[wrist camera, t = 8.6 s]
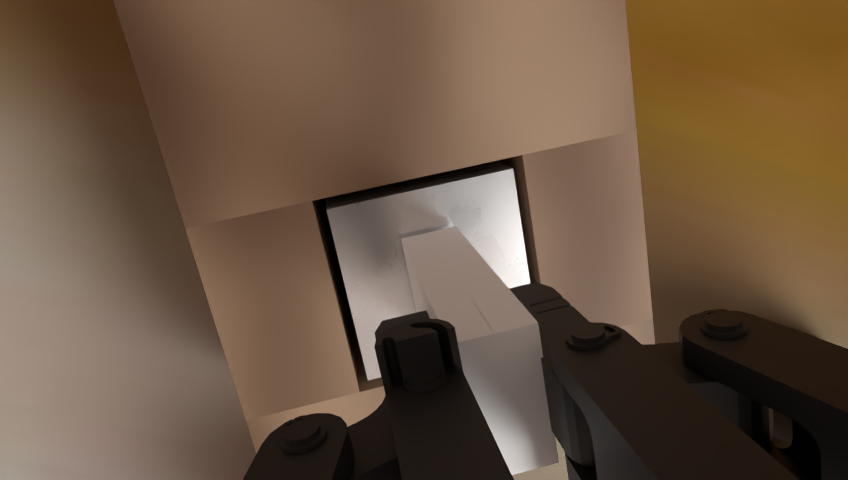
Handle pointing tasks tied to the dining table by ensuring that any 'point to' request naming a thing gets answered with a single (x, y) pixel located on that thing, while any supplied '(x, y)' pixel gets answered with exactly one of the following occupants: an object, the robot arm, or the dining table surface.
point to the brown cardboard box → (382, 159)
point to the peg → (413, 215)
